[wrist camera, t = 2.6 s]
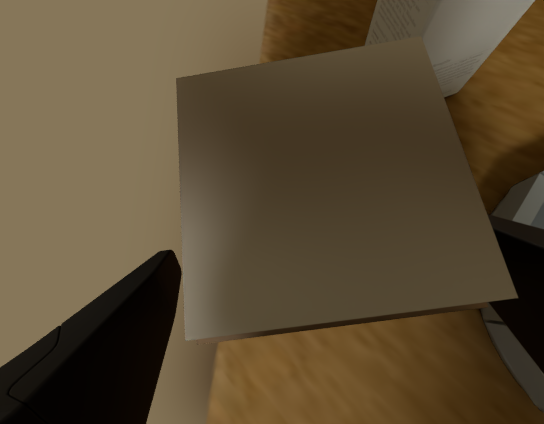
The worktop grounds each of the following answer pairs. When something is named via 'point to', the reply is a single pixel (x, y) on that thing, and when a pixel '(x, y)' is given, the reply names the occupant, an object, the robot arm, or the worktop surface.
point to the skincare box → (448, 32)
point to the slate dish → (539, 387)
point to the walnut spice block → (328, 197)
